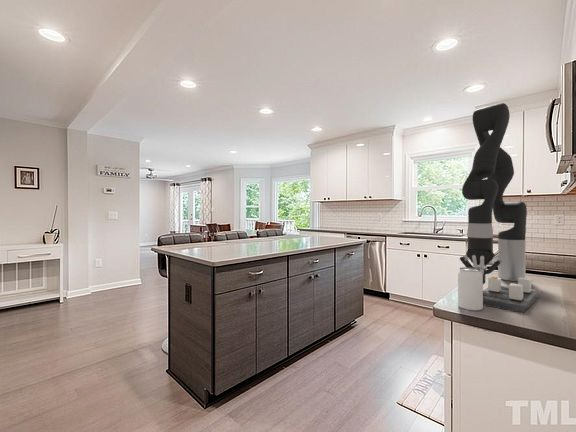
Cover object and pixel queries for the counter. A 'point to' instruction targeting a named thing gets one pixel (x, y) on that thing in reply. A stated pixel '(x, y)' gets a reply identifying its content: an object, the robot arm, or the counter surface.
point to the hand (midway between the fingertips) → (480, 284)
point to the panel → (505, 302)
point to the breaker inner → (525, 284)
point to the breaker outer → (515, 291)
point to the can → (470, 289)
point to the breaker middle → (494, 284)
